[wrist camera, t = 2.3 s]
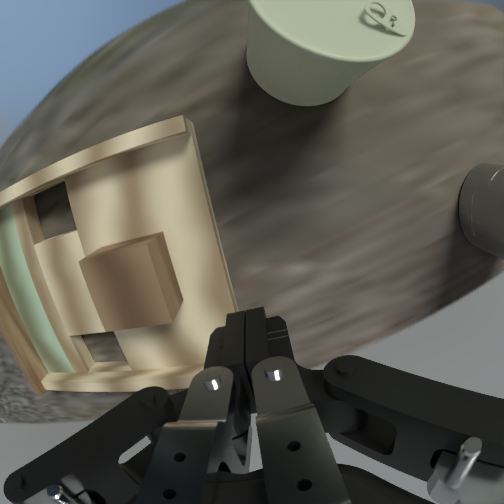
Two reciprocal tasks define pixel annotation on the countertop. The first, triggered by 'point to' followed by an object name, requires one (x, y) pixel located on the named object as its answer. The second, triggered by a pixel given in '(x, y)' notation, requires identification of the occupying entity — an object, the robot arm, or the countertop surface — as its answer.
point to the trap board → (106, 233)
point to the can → (322, 44)
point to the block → (133, 283)
